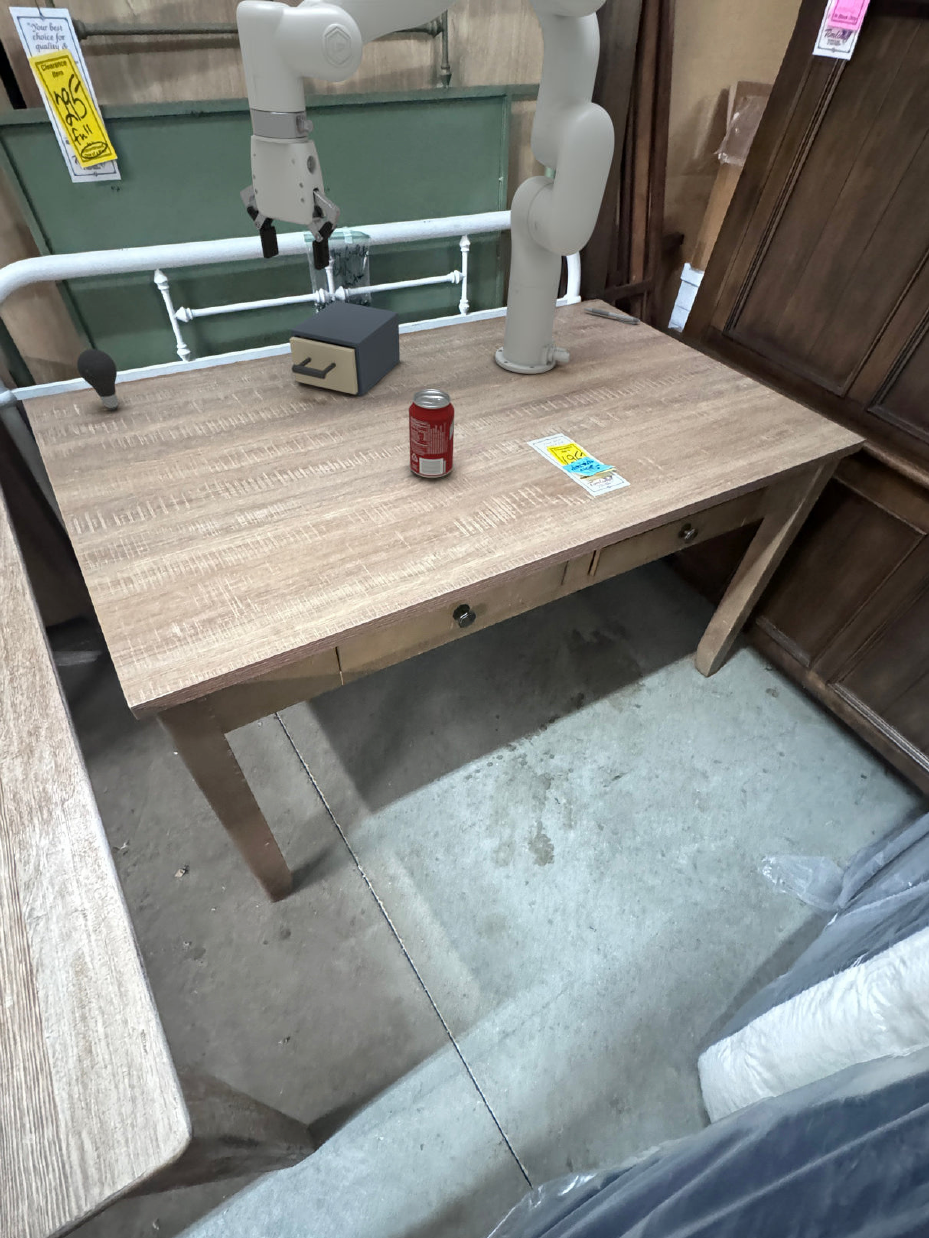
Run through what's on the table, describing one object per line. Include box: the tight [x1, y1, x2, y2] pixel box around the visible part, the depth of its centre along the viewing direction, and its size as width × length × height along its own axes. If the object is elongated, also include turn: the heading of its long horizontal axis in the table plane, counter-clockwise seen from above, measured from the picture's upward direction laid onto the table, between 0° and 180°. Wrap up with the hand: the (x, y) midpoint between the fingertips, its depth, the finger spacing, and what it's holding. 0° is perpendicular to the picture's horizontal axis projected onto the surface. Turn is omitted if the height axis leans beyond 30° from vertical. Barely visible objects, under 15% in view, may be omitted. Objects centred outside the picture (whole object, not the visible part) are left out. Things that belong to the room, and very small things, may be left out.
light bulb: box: [76, 348, 120, 410], centre depth 103 cm, size 6×6×10 cm
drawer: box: [288, 336, 358, 395], centre depth 114 cm, size 21×12×8 cm, turn 159°
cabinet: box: [290, 300, 401, 397], centre depth 117 cm, size 17×14×10 cm
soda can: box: [408, 388, 455, 479], centre depth 93 cm, size 7×7×12 cm
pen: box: [583, 307, 641, 325], centre depth 146 cm, size 1×14×1 cm, turn 63°
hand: (296, 262), depth 98 cm, fingers open, 9 cm apart
